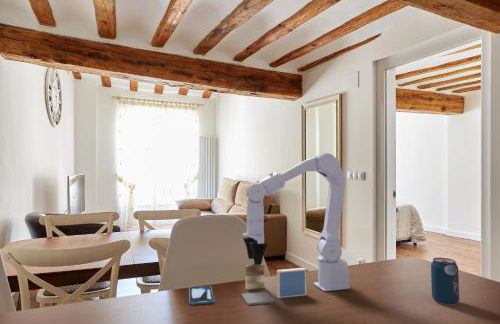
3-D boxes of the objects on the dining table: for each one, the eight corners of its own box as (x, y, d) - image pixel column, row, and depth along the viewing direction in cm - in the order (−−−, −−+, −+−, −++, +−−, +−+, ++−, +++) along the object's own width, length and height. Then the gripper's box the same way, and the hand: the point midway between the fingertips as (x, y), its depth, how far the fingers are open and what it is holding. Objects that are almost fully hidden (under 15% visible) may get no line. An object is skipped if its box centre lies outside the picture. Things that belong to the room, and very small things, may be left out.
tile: (304, 293, 105) (303, 267, 106) (306, 295, 104) (306, 269, 104) (277, 296, 103) (276, 270, 103) (278, 298, 101) (278, 271, 102)
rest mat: (266, 293, 106) (266, 291, 106) (274, 302, 98) (274, 300, 98) (241, 295, 104) (241, 293, 104) (247, 305, 96) (247, 303, 96)
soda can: (462, 307, 93) (461, 263, 93) (434, 304, 95) (433, 262, 96) (455, 298, 99) (454, 258, 100) (429, 296, 102) (428, 256, 102)
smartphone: (211, 285, 112) (215, 300, 98) (211, 288, 112) (215, 304, 98) (188, 287, 111) (189, 302, 96) (188, 290, 111) (189, 306, 96)
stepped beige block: (262, 286, 112) (262, 263, 113) (264, 287, 111) (264, 264, 111) (245, 288, 111) (245, 265, 111) (246, 289, 109) (246, 266, 110)
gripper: (238, 217, 118) (238, 256, 117) (248, 223, 104) (248, 267, 103) (257, 217, 119) (257, 255, 119) (270, 222, 105) (270, 266, 105)
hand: (254, 261), depth 111 cm, fingers open, 7 cm apart
